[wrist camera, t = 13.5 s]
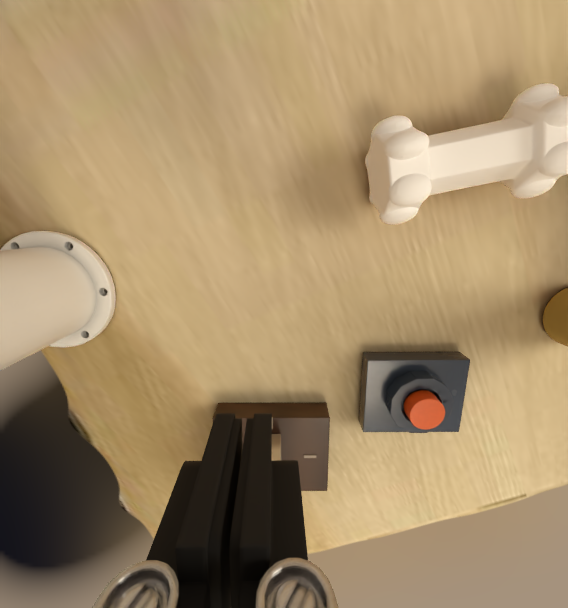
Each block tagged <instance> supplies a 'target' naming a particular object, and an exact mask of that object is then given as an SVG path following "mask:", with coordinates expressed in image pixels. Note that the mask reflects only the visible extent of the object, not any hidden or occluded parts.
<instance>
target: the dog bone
mask: <svg viewBox="0 0 568 608" xmlns="http://www.w3.org/2000/svg"><path fill="white" fill-rule="evenodd" d="M365 165H366V167H367V171H368V179H369V188H370V195H369V200H370V202H371V203H372V204H373V205H374V206H375V207H376V209H377V210H378V212H379V213H380V219H381V220H382V222H384V223H386V224H392V225H394V224H401V223H404V222H407V221H409V220H410V219H412V218H413V217H414V216H415V215H416V214H417V212H418V209H419V207H420V206H421V204H422V202H423V201H424V200H425V199H427V197H428V196H429V195H434V194H439V193H444V192H448V191H453V190H458V189H463V188H468V187H473V186H478V185H483V184H488V183H493V182H498V181H500V182H501V183H503V184H504V185H505V186H507V187H508V188H510V189H511V194H512V195H513V196H514V197H516V198H532V197H535V196H538V195H541V194H543V193H545V192H547V191H548V190H549V189H551V188H552V187H553V185H554V184H555V182H556V180H557V179H558V178H559V177H561V176H563V175H566V174H568V96H565V97H564V96H561V95H559V89H558V87H557V86H556V85H554V84H551V83H543V84H538V85H535V86H532V87H530V88H528V89H526V90H524V91H523V92H521V93H520V94H519V95H518V96H517V97H516V98H515V99H514V101H513V102H512V105H511V107H510V108H509V110H508V111H507V113H506V114H505V116H504V117H503V118H502V120H499V121H495V122H490V123H485V124H480V125H476V126H471V127H466V128H462V129H457V130H452V131H448V132H443V133H438V134H434V135H429V136H427V134H425V133H424V132H422V131H418V130H417V129H415V128H414V127H413V126H412V122H411V120H410V119H409V118H407V117H405V116H401V115H396V116H391V117H388V118H385V119H383V120H382V121H380V122H379V123H378V124H377V125H376V126H375V127H374V128H373V130H372V133H371V144H370V148H369V152H368V153H367V155H366V158H365Z"/></svg>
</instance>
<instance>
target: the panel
mask: <svg viewBox="0 0 568 608" xmlns="http://www.w3.org/2000/svg"><path fill="white" fill-rule="evenodd" d="M217 413H235V417H236V418H242V445H243V443H244V435H245V428H246V421H247V418H254V413H272V434H281V460H298V465H299V475H300V485H301V491H327V481H328V451H329V422H330V417H329V413H328V408H327V404H326V403H218V405H217V408H216V411H215V413H214V416H213V422H214V419H215V416H216V414H217Z"/></svg>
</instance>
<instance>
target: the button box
mask: <svg viewBox="0 0 568 608" xmlns="http://www.w3.org/2000/svg"><path fill="white" fill-rule="evenodd" d="M469 364H470V359H468V358H467V357H466V356H464V355H463V354H462V353H460V352H363V361H362V377H361V393H360V410H359V422H360V425H361V427H362V430H363V432H411V433H427V432H459V427H460V421H461V415H462V408H463V402H464V396H465V389H466V383H467V377H468V370H469ZM418 390H427V391H430V392H431V393H433V394H434V395H435V396H436V397H437V398H438V400H439V401H440V402H441V403H442V404H443V406H444V408H445V417H444V419H443V421H442V422H441V423H440V424H439V425H438V426H436V427H435V428H432V429H427V430H424V429H419V428H417V427H415V426H414V425H413V424H412V423H411V421H410V420H409V418H408V416H407V415H406V413H405V411H404V402H405V400H406V398H407V397H408V396H409V395H410V394H411V393H413V392H415V391H418Z"/></svg>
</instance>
